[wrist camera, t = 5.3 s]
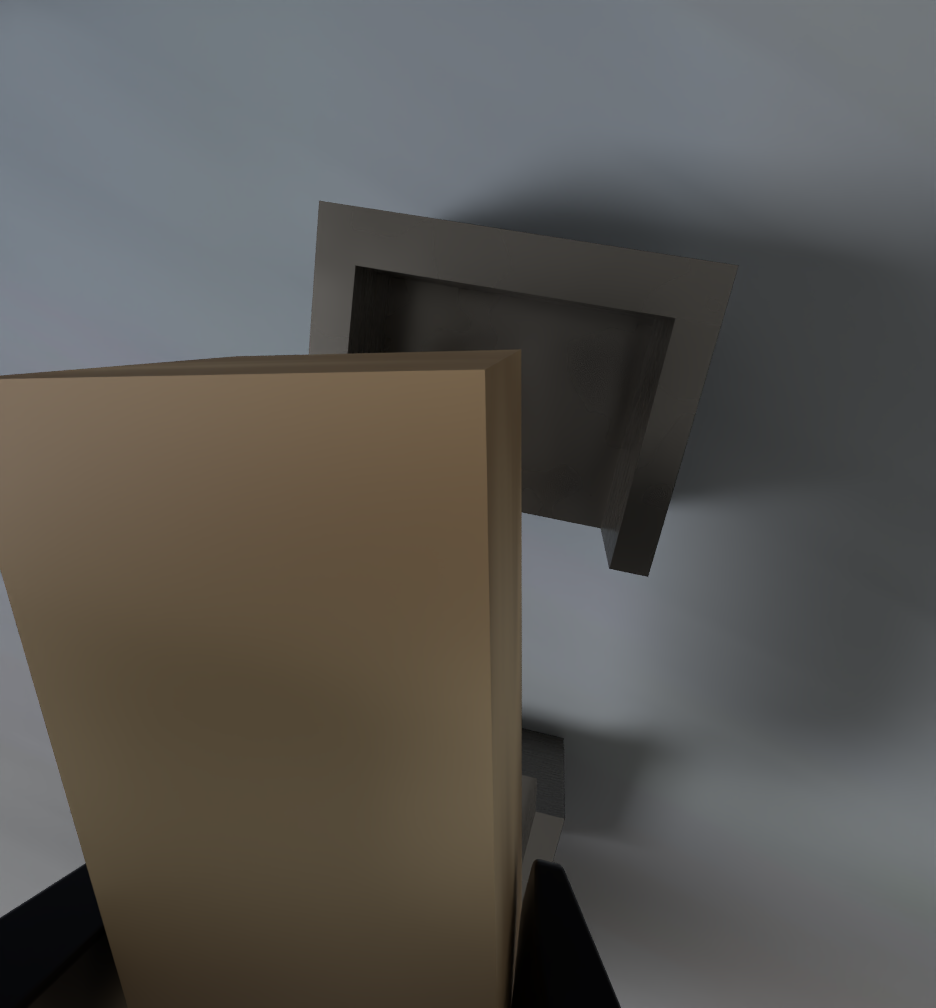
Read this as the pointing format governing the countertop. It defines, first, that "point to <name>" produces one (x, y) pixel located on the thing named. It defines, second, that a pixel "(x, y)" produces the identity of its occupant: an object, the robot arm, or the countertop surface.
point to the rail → (282, 666)
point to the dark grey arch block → (541, 798)
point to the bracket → (542, 348)
